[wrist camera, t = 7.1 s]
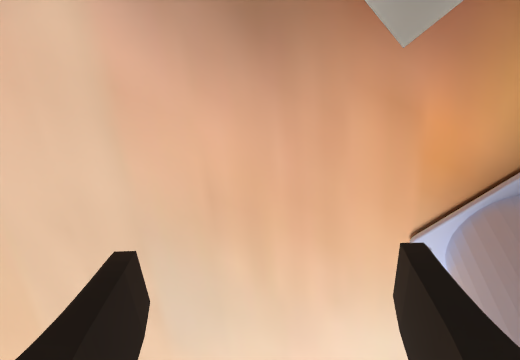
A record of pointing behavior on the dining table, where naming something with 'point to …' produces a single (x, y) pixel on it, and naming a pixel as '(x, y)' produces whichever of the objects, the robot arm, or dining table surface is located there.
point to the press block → (410, 16)
